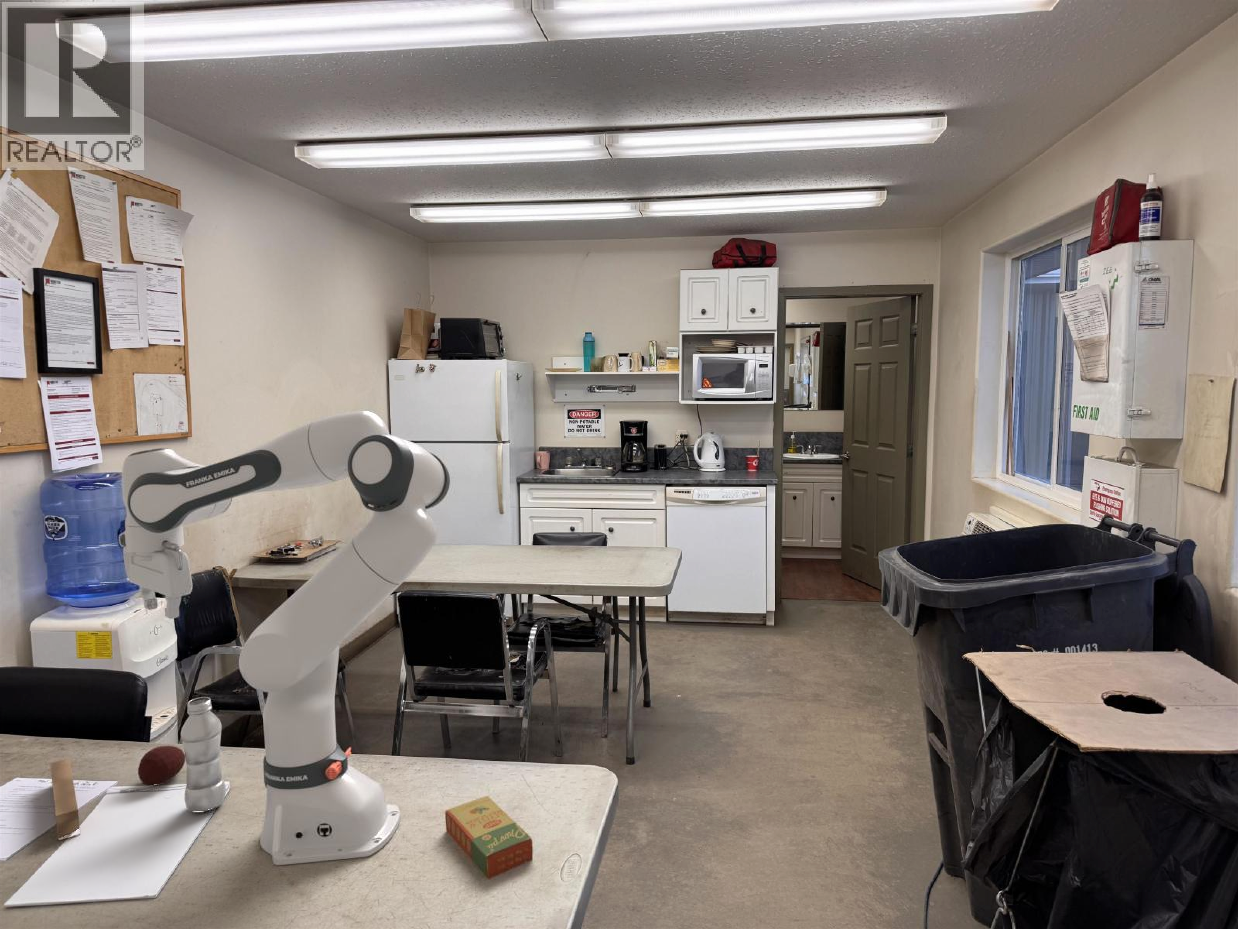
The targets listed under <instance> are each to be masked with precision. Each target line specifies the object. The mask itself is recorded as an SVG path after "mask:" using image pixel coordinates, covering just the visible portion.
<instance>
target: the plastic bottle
mask: <svg viewBox="0 0 1238 929" xmlns="http://www.w3.org/2000/svg"><path fill="white" fill-rule="evenodd" d="M211 710H213V706H212V701H211V698H210V696H209V697H208V696H207V697H206V696H201V697H197V698H194V699H193V698H192V699H191V700H189V701H188V702H187V710H186V711H187V715H189V716H188V717H187V719H186V720H185V722H184V724H183V726H182V727H181V731H180V739H181V743H182V747H183V752H184V754H185V764H186V765H185V766H186V783H185V784H186V786H185V791H184V802H185V803H184V804H185V806H186V809H188V811H190V812H191V811H206V810H208V809H211V808H214V809H216V808H218V807H220V805H222V803H223V801H224V800H225V797H226V791H227V788H226V783H225V779H224V777H223V773H222V765H221V737H222V723H221V720H220V719H219V718H218V717H217V715H216V714H215V713H213V712H212V711H211ZM215 807H216V808H215ZM206 812H207V811H206Z"/></svg>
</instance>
